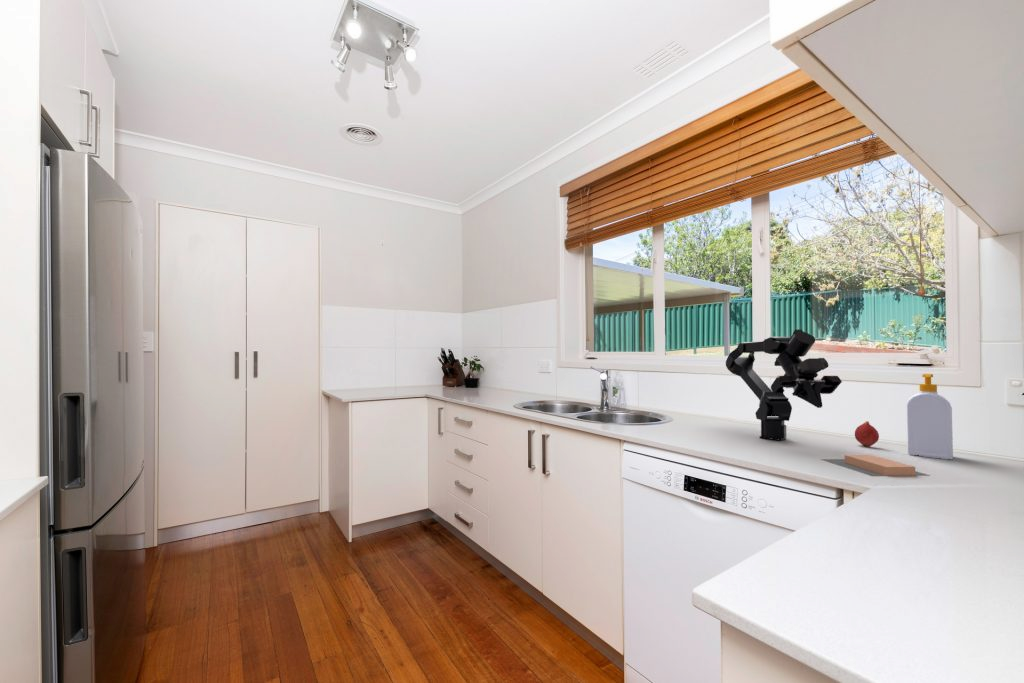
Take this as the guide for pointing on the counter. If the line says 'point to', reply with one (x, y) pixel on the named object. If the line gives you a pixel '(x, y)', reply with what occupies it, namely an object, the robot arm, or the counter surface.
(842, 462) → the charcoal mat
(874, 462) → the terracotta block
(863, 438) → the onion
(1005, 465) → the counter surface
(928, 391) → the soap bottle
